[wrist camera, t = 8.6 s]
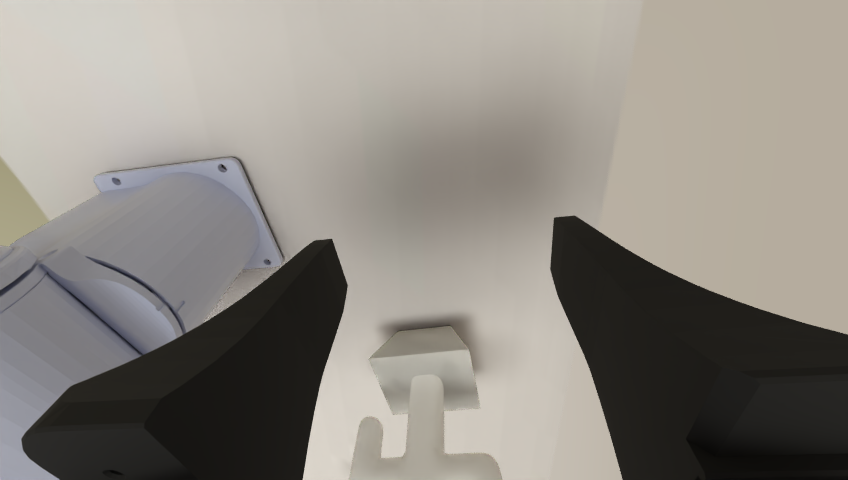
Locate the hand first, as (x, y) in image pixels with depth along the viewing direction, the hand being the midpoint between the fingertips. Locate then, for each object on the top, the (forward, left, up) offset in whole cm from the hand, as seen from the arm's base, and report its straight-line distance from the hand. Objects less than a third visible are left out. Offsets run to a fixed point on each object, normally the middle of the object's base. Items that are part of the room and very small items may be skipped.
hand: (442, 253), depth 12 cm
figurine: (-3, -17, -11) cm, 20 cm away
